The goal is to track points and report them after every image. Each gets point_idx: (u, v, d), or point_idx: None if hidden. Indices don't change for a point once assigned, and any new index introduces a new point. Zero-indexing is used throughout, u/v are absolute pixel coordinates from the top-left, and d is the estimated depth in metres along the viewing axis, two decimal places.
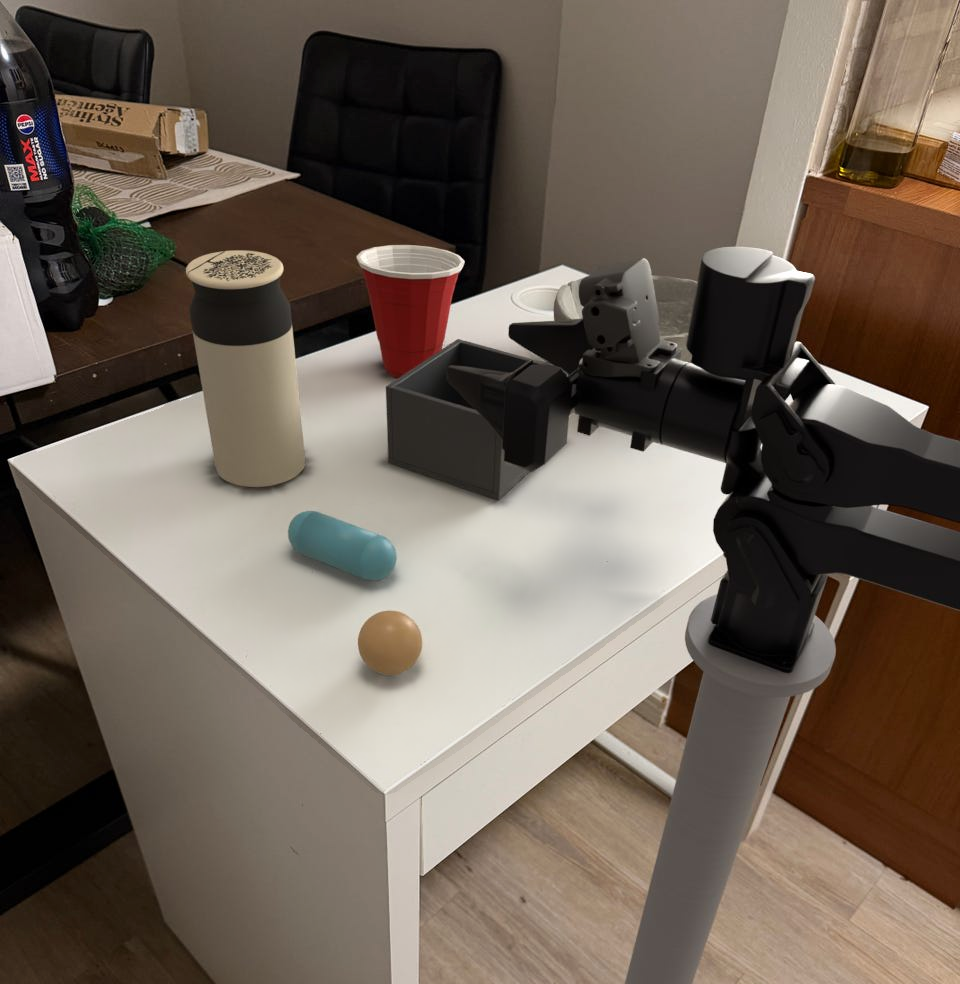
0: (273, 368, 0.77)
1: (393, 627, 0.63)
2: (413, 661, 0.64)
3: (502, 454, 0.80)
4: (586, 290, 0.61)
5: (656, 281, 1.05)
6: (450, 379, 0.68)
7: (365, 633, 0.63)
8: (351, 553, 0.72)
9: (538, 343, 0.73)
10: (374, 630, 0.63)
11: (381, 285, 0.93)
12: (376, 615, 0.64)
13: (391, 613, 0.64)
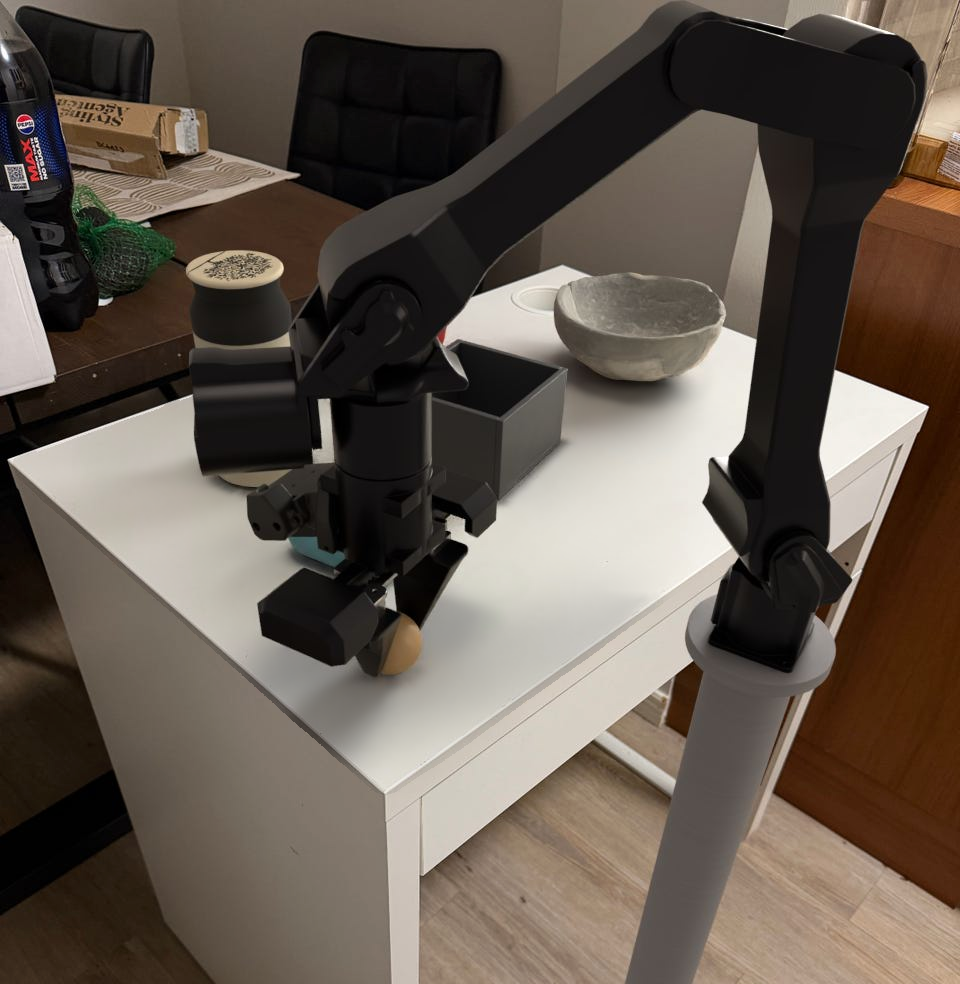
0: None
1: None
2: (413, 661, 0.64)
3: (502, 454, 0.80)
4: None
5: (656, 281, 1.05)
6: (372, 673, 0.64)
7: None
8: None
9: (412, 611, 0.65)
10: None
11: None
12: None
13: None
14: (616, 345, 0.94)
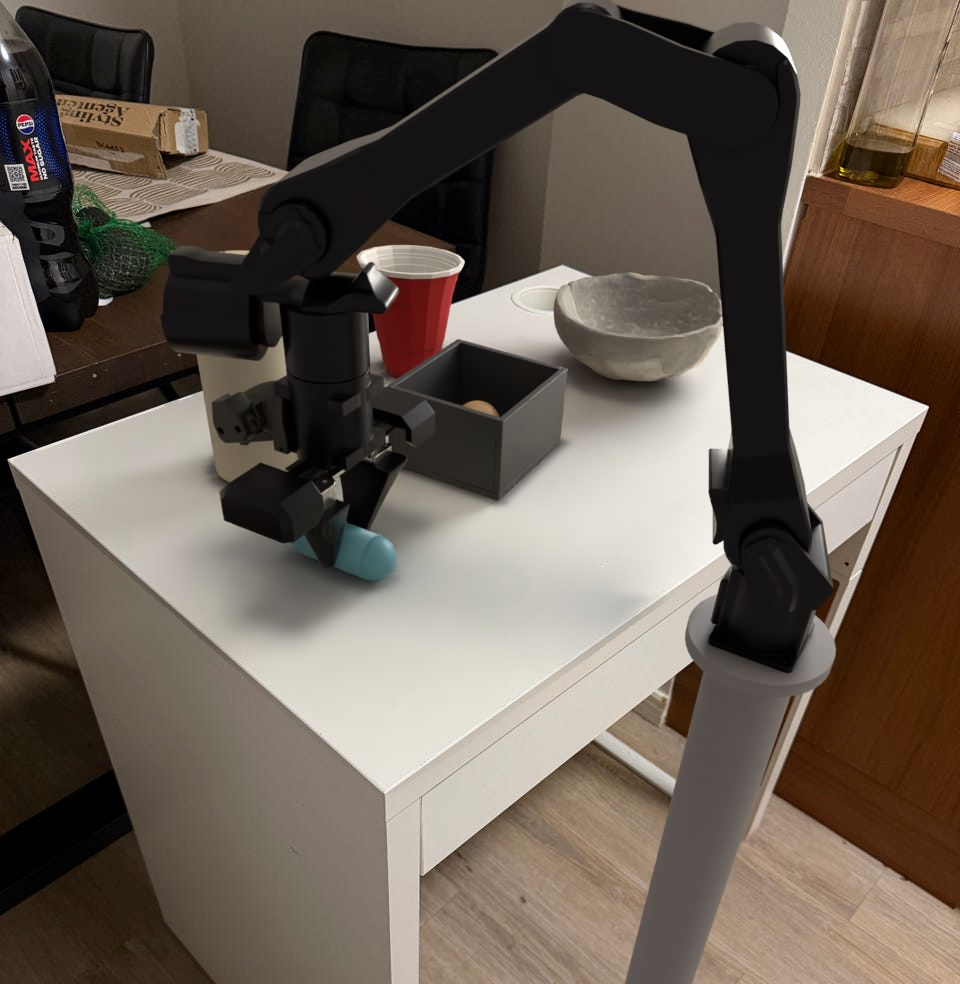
0: (273, 368, 0.77)
1: (482, 408, 0.86)
2: None
3: (502, 454, 0.80)
4: None
5: (656, 281, 1.05)
6: (327, 564, 0.73)
7: None
8: (351, 553, 0.72)
9: (359, 516, 0.74)
10: None
11: None
12: (468, 402, 0.87)
13: None
14: (616, 345, 0.94)
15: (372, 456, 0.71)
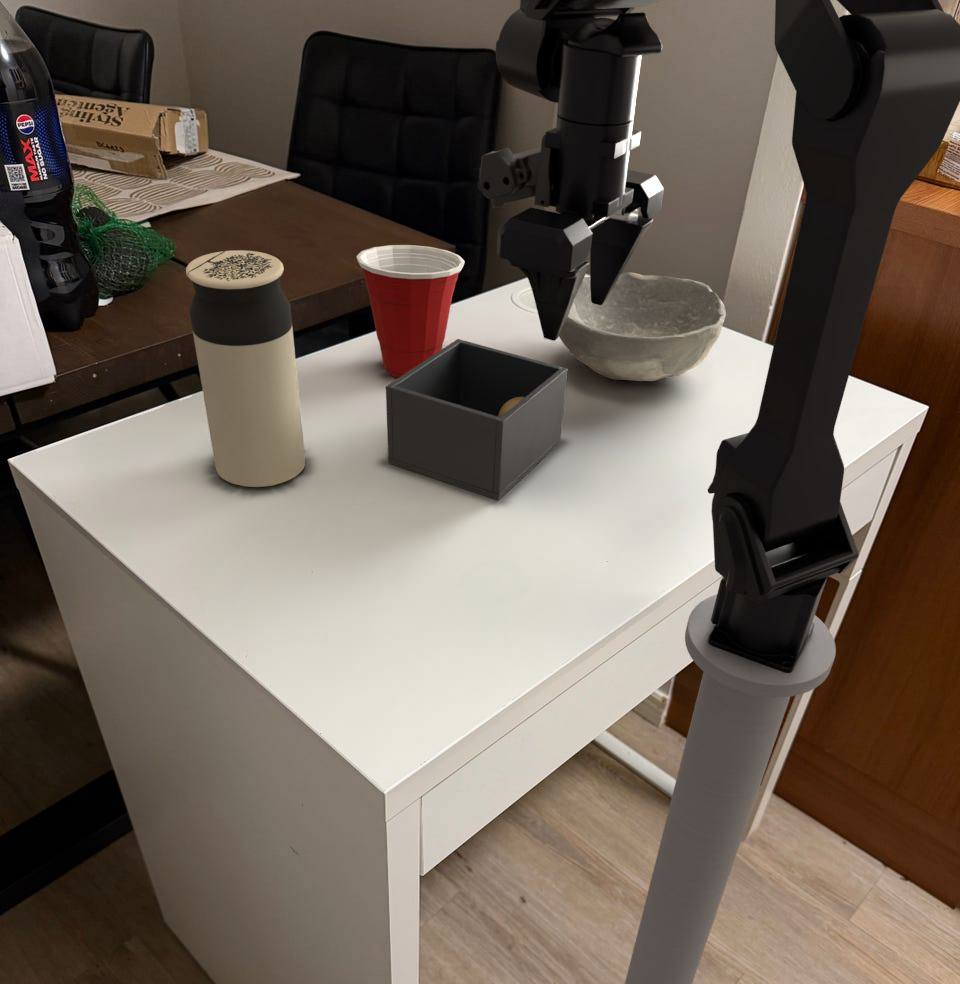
0: (273, 368, 0.77)
1: None
2: None
3: (502, 454, 0.80)
4: (493, 200, 0.76)
5: (656, 281, 1.05)
6: (552, 336, 0.77)
7: None
8: None
9: (605, 275, 0.82)
10: None
11: (381, 285, 0.93)
12: None
13: None
14: (615, 345, 0.94)
15: (625, 213, 0.79)
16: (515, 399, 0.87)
